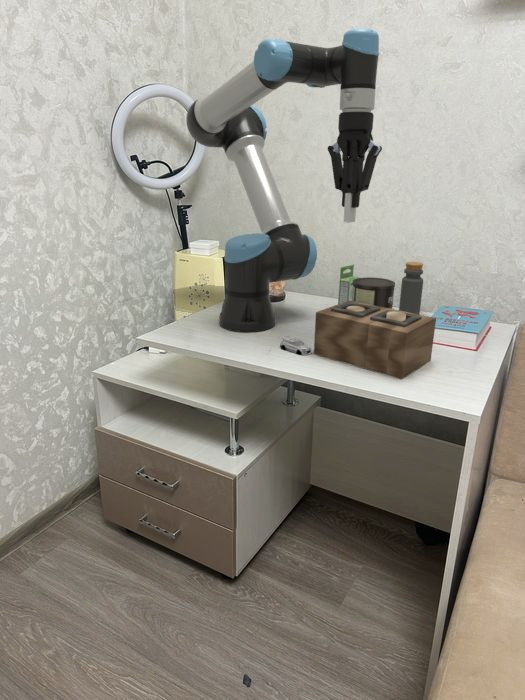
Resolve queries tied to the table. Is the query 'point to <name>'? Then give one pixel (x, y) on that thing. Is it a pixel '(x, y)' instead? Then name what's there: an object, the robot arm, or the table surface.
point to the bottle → (411, 288)
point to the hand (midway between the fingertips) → (349, 221)
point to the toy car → (295, 346)
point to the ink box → (346, 284)
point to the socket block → (374, 338)
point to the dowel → (396, 316)
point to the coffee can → (373, 291)
